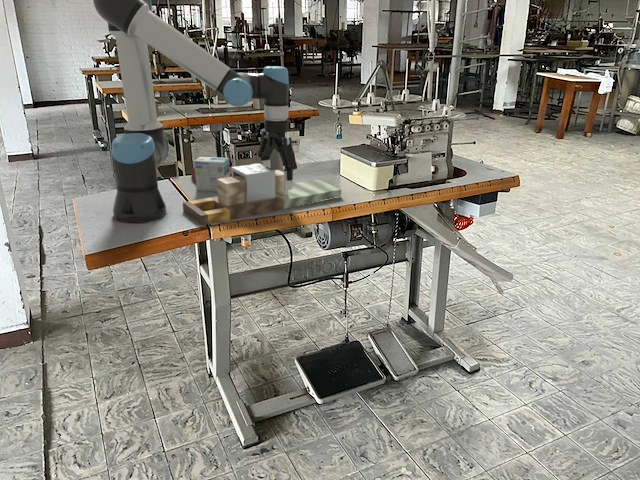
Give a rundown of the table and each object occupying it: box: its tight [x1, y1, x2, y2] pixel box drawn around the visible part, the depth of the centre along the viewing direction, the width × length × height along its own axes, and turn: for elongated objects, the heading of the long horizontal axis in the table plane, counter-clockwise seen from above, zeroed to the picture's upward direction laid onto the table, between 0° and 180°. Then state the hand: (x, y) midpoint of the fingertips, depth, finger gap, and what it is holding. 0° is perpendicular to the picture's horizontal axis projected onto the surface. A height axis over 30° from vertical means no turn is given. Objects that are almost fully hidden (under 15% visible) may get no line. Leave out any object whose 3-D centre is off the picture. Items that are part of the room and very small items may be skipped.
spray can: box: [261, 128, 284, 172], centre depth 194 cm, size 8×8×20 cm
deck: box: [182, 178, 342, 226], centre depth 169 cm, size 51×14×3 cm, turn 126°
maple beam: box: [217, 170, 288, 206], centre depth 165 cm, size 22×6×7 cm, turn 126°
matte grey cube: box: [231, 163, 275, 205], centre depth 165 cm, size 10×10×10 cm
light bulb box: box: [194, 156, 230, 192], centre depth 182 cm, size 11×7×11 cm, turn 84°
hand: (276, 184), depth 170 cm, fingers open, 13 cm apart
